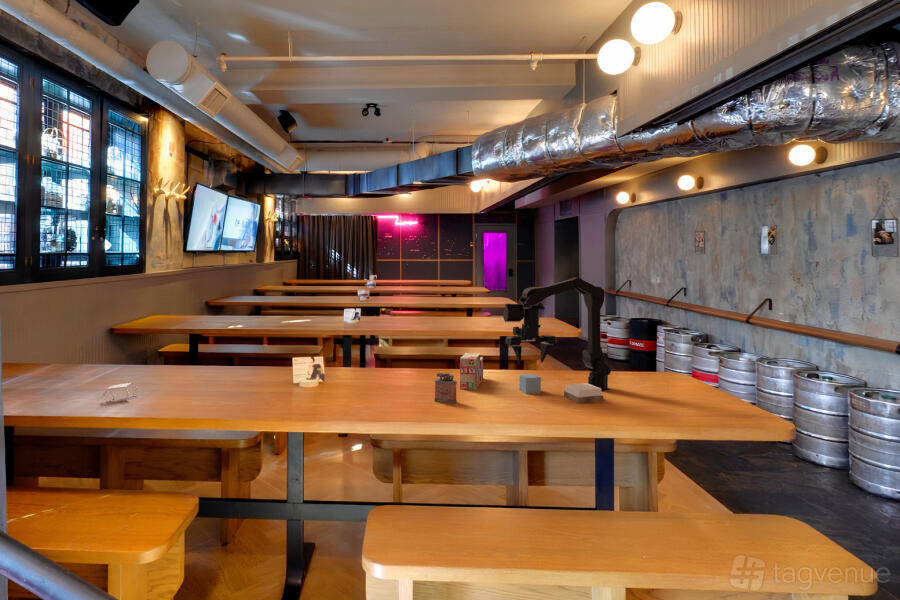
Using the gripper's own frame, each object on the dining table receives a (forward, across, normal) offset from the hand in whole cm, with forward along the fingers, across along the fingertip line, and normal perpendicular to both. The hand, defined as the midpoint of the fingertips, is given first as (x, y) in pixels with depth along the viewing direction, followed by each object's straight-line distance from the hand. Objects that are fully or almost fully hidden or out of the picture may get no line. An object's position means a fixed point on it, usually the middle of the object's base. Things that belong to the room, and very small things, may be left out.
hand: (530, 362), depth 202 cm
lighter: (+11, +35, +6) cm, 37 cm away
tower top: (+9, -14, +15) cm, 22 cm away
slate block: (+11, 0, 0) cm, 11 cm away
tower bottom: (+12, -14, +15) cm, 23 cm away
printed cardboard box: (+11, +17, -18) cm, 27 cm away
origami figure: (+11, +142, -25) cm, 144 cm away
